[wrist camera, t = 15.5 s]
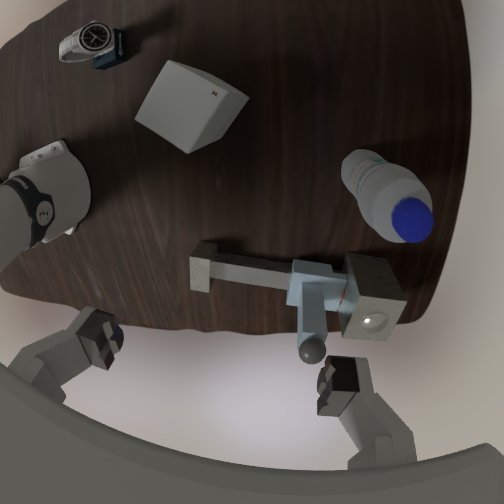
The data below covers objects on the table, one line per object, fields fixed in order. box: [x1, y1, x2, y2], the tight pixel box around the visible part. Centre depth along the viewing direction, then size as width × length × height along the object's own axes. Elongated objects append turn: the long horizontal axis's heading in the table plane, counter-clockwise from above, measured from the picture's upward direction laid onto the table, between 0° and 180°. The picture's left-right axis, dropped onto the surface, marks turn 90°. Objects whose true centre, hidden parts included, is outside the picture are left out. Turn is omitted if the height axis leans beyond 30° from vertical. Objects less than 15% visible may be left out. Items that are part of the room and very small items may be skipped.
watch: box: [59, 21, 127, 70], centre depth 25 cm, size 6×8×11 cm
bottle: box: [341, 149, 434, 243], centre depth 26 cm, size 7×7×20 cm
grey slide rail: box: [190, 241, 407, 341], centre depth 39 cm, size 30×8×11 cm, turn 84°
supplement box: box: [135, 60, 249, 154], centre depth 28 cm, size 7×7×13 cm
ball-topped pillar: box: [286, 259, 348, 364], centre depth 36 cm, size 8×6×17 cm
